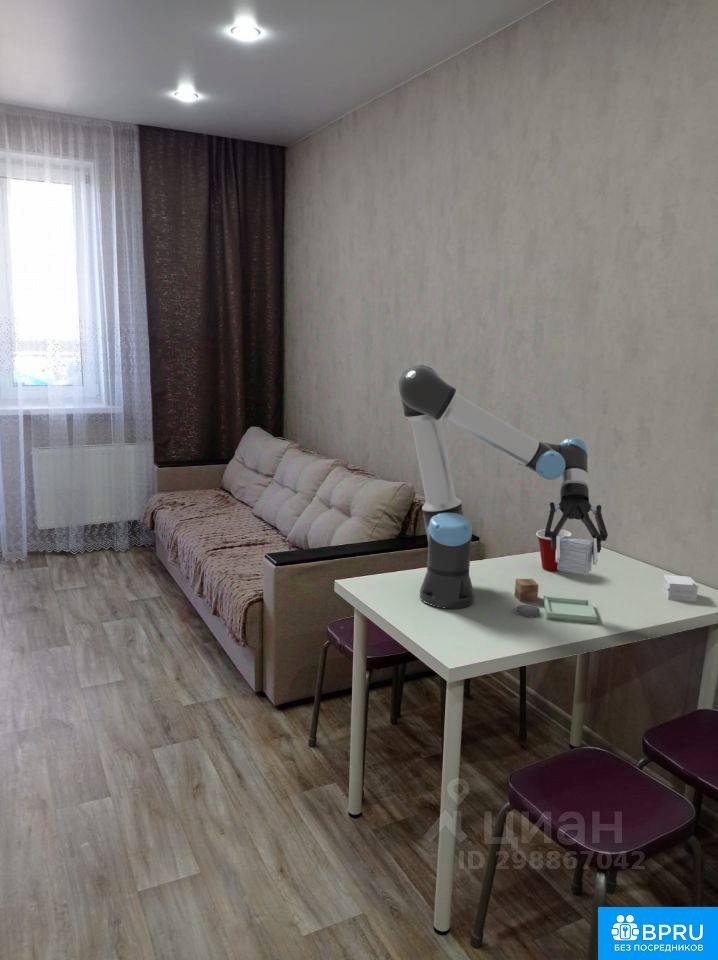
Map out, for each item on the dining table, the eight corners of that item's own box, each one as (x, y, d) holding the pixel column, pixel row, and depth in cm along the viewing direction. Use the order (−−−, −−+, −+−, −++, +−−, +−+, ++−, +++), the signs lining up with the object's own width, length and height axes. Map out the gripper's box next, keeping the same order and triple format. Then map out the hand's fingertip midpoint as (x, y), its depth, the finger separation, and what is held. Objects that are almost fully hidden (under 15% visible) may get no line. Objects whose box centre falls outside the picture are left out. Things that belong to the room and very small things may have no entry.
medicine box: (591, 571, 194) (594, 540, 192) (586, 576, 190) (589, 544, 188) (562, 565, 198) (564, 535, 196) (556, 570, 194) (559, 539, 192)
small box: (661, 590, 215) (663, 574, 214) (689, 593, 214) (691, 576, 213) (667, 600, 208) (669, 583, 207) (696, 602, 206) (698, 585, 205)
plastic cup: (527, 563, 236) (530, 528, 234) (558, 562, 238) (562, 527, 236) (542, 575, 226) (545, 537, 223) (574, 573, 228) (577, 537, 225)
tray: (546, 619, 191) (547, 612, 191) (543, 601, 203) (543, 595, 203) (596, 623, 189) (597, 616, 189) (589, 605, 201) (590, 599, 201)
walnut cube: (519, 601, 203) (521, 585, 202) (514, 595, 208) (515, 578, 207) (537, 601, 204) (538, 584, 202) (531, 595, 208) (532, 578, 207)
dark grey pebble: (516, 617, 193) (517, 611, 192) (515, 608, 199) (516, 603, 198) (540, 619, 192) (540, 613, 192) (538, 610, 198) (538, 605, 197)
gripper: (612, 498, 203) (616, 570, 191) (533, 493, 207) (532, 564, 195) (617, 483, 197) (622, 557, 185) (536, 479, 201) (535, 551, 189)
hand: (576, 561), depth 190 cm, fingers closed on medicine box, 9 cm apart
